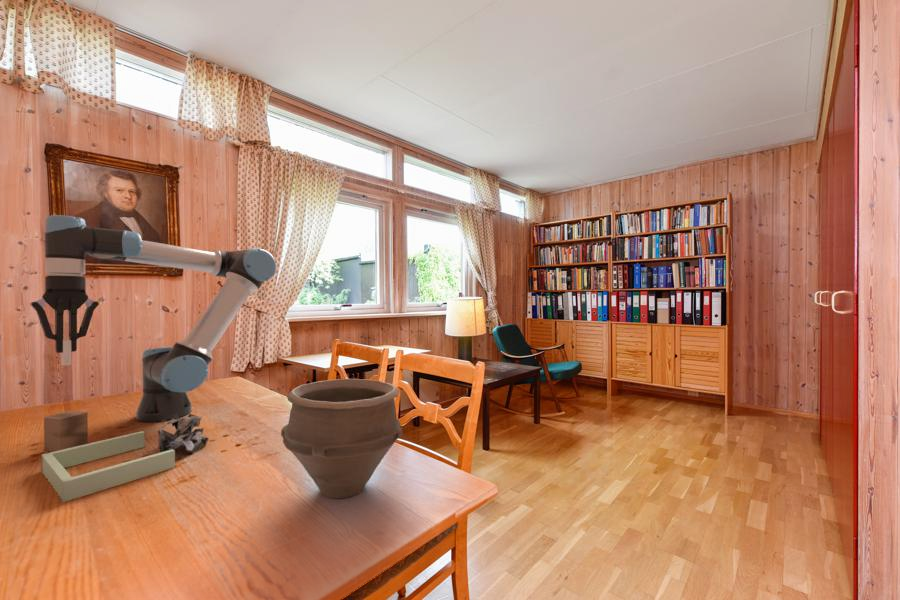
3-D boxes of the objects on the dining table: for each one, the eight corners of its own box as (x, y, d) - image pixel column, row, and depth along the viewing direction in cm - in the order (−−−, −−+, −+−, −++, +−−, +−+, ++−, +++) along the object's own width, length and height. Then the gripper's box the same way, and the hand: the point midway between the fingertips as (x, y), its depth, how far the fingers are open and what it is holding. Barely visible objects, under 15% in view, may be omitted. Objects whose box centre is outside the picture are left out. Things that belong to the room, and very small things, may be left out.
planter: (271, 480, 86) (270, 382, 85) (371, 454, 100) (371, 369, 99) (302, 538, 65) (300, 410, 65) (422, 495, 80) (421, 389, 79)
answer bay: (142, 445, 104) (142, 430, 104) (174, 467, 92) (174, 450, 91) (41, 471, 89) (41, 454, 89) (63, 502, 76) (63, 482, 76)
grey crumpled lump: (133, 447, 95) (175, 400, 108) (156, 472, 101) (194, 425, 114) (173, 448, 94) (212, 401, 106) (194, 474, 99) (229, 426, 112)
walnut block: (72, 442, 106) (72, 410, 106) (87, 445, 104) (87, 412, 104) (44, 451, 100) (44, 417, 100) (60, 454, 98) (60, 419, 98)
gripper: (95, 276, 108) (95, 359, 109) (27, 274, 98) (27, 366, 98) (102, 276, 104) (102, 362, 104) (31, 273, 93) (32, 370, 94)
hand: (66, 364), depth 101 cm, fingers closed
